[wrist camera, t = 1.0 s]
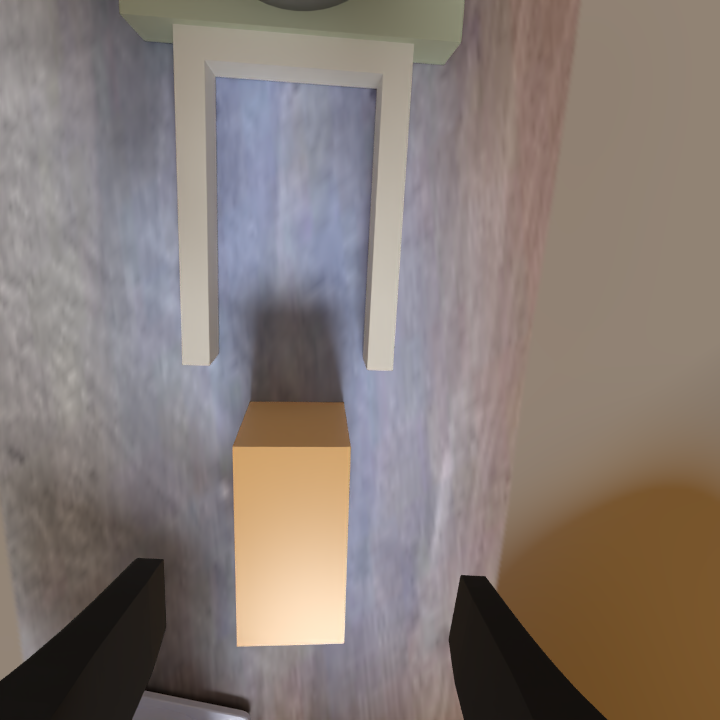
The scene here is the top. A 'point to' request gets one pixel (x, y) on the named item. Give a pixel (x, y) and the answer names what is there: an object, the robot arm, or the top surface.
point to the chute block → (291, 523)
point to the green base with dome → (297, 65)
